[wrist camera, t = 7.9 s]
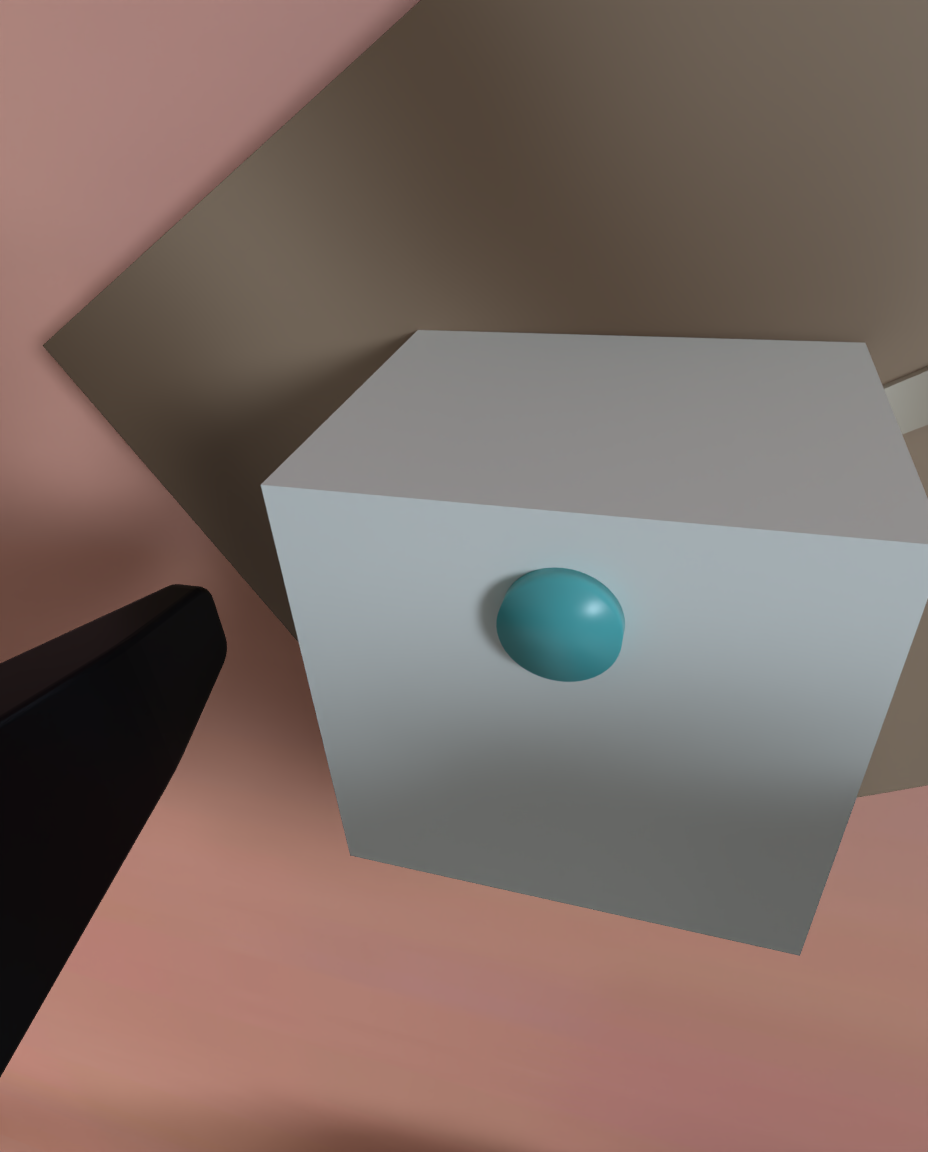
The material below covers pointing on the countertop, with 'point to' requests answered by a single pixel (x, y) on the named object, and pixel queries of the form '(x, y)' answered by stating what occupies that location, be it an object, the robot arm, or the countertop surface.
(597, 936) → the countertop surface
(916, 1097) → the countertop surface
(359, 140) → the post stand
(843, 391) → the white cube
